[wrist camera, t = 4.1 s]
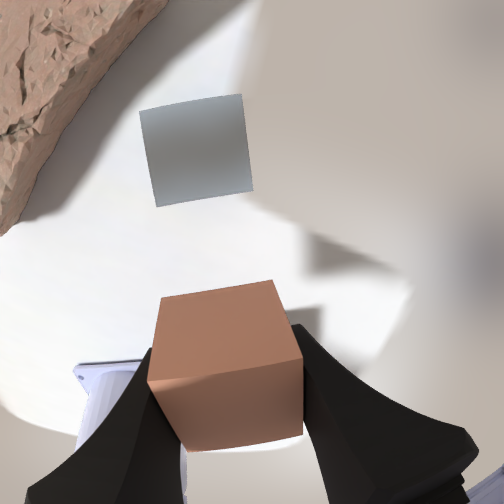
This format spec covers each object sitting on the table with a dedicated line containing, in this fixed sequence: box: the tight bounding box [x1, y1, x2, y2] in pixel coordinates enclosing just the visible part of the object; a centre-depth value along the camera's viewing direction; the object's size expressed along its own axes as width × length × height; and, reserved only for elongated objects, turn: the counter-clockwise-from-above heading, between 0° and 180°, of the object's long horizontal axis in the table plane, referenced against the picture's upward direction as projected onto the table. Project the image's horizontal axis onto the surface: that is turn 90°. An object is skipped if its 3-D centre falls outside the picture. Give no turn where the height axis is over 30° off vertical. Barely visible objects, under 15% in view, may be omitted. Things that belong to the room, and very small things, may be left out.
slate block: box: [139, 94, 253, 207], centre depth 13 cm, size 4×4×4 cm
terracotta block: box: [147, 280, 303, 452], centre depth 10 cm, size 4×4×4 cm
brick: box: [0, 0, 169, 237], centre depth 10 cm, size 17×8×5 cm, turn 137°
